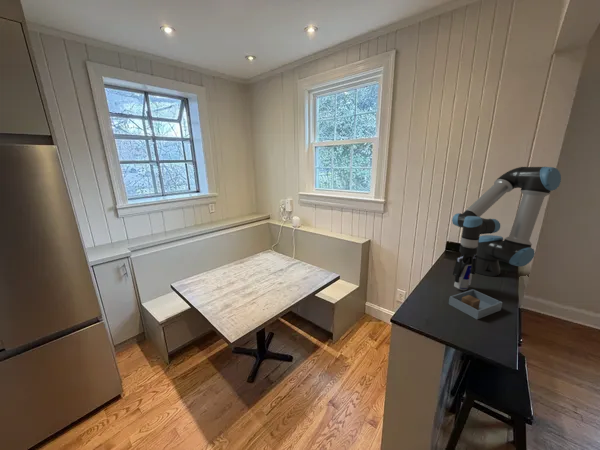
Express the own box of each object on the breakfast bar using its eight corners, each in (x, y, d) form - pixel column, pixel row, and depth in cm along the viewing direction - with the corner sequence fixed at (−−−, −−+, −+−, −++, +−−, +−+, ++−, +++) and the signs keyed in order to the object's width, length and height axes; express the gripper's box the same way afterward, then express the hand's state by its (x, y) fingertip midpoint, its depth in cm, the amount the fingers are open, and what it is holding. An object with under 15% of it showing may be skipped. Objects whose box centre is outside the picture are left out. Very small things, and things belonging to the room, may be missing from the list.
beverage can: (469, 291, 129) (473, 265, 125) (458, 290, 130) (462, 264, 126) (464, 286, 134) (469, 261, 130) (454, 286, 135) (458, 260, 131)
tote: (471, 296, 124) (472, 289, 123) (500, 310, 112) (502, 302, 111) (448, 304, 117) (449, 296, 116) (477, 319, 106) (478, 311, 105)
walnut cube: (460, 306, 114) (462, 297, 113) (467, 304, 116) (469, 294, 115) (471, 312, 110) (473, 302, 108) (478, 309, 112) (480, 300, 110)
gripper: (474, 241, 133) (467, 279, 139) (448, 246, 125) (442, 286, 131) (489, 245, 127) (481, 285, 132) (462, 251, 119) (456, 293, 124)
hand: (462, 285), depth 131 cm, fingers open, 8 cm apart
